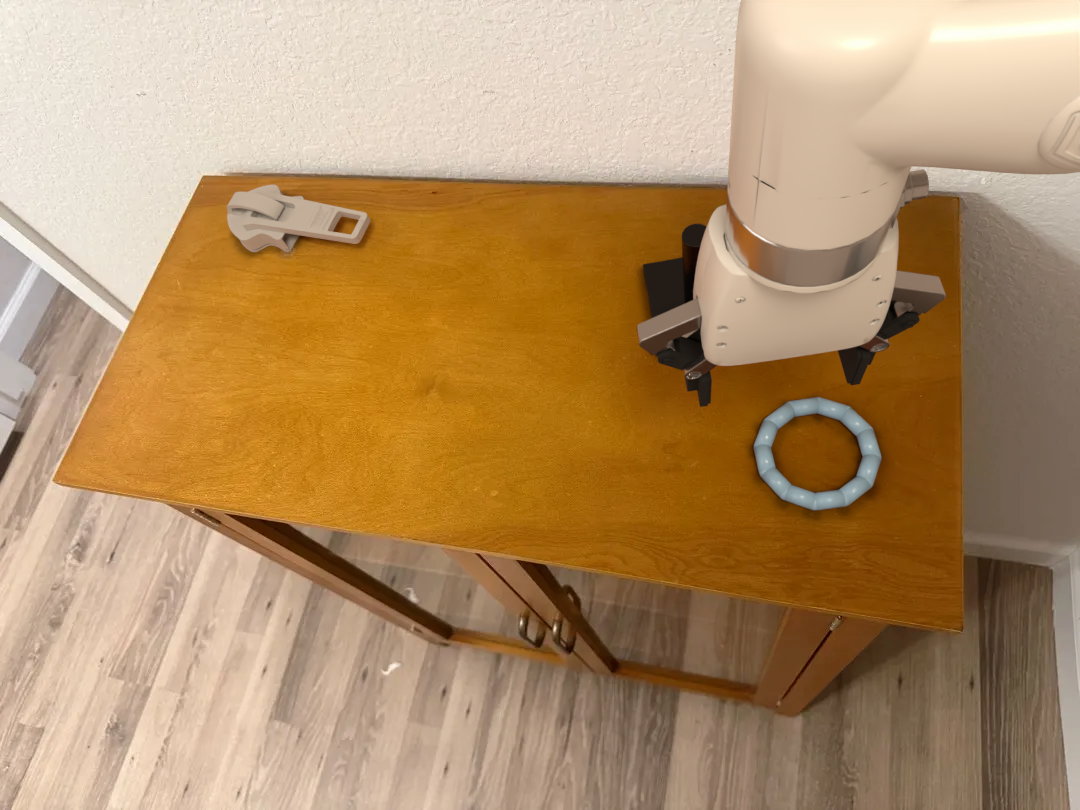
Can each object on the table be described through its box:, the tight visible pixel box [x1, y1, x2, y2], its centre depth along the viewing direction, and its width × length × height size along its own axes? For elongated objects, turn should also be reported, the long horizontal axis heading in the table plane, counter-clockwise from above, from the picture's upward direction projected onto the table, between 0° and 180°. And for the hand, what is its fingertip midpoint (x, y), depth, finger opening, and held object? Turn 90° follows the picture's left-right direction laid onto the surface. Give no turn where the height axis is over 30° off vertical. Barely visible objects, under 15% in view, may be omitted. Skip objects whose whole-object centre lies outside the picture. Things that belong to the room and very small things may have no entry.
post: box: [642, 223, 707, 319], centre depth 69 cm, size 9×9×10 cm
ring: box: [753, 396, 882, 512], centre depth 64 cm, size 10×10×1 cm
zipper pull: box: [226, 184, 371, 253], centre depth 85 cm, size 8×18×4 cm, turn 70°
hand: (773, 376), depth 52 cm, fingers open, 9 cm apart
